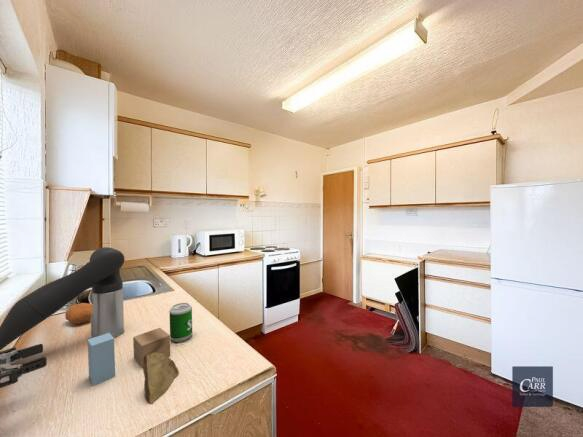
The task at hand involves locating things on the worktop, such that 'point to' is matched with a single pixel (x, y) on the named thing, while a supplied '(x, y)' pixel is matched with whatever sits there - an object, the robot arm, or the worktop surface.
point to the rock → (157, 375)
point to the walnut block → (151, 344)
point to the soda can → (180, 322)
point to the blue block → (101, 358)
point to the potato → (79, 313)
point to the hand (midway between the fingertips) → (44, 354)
